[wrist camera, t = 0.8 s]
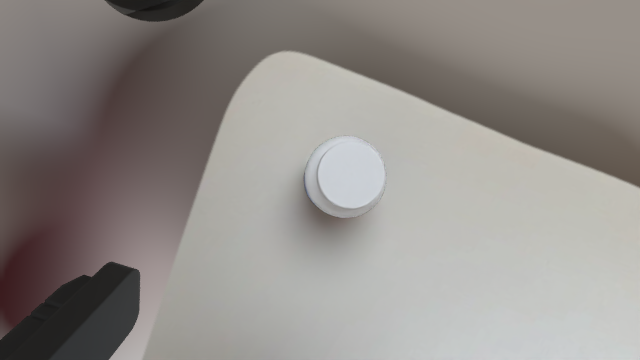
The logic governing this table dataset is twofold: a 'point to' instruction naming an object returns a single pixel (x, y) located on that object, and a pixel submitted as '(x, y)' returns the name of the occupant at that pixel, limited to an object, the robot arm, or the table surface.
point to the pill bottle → (345, 177)
